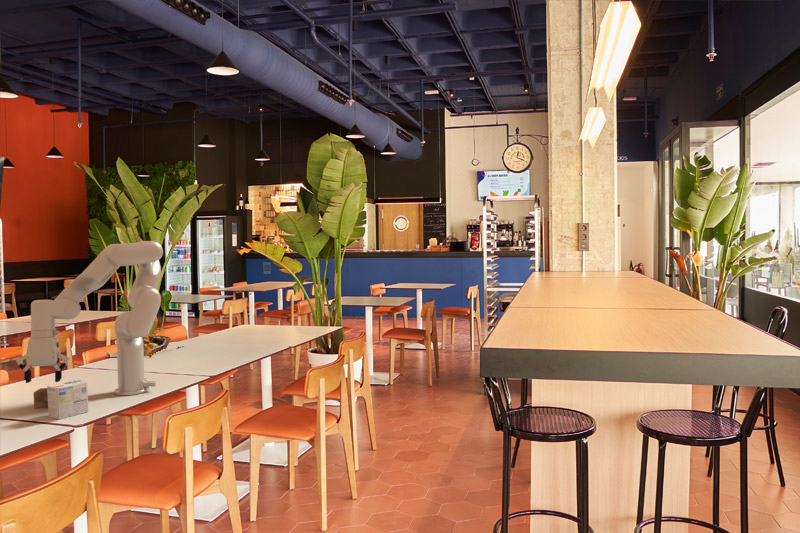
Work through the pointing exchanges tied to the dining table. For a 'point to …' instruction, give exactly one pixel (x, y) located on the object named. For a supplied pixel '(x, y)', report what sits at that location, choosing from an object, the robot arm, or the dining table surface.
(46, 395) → the walnut cube
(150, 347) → the food tray
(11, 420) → the dining table surface
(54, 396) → the light bulb box
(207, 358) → the dining table surface
